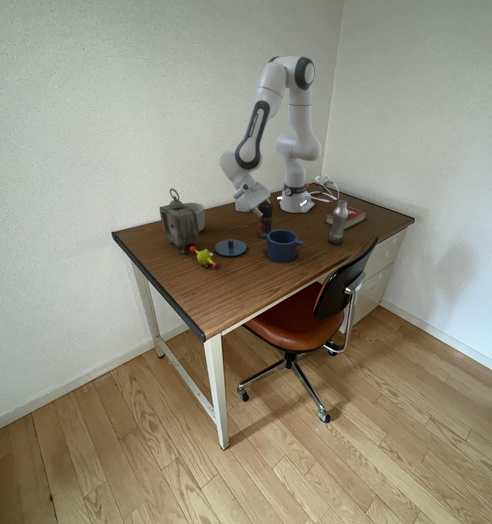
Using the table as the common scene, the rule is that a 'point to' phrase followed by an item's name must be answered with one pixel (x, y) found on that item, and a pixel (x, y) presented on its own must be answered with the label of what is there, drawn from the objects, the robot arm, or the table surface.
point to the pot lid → (230, 247)
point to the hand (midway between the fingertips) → (266, 212)
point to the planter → (198, 214)
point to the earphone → (326, 188)
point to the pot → (281, 245)
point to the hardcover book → (349, 217)
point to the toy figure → (204, 257)
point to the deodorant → (265, 218)
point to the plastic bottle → (338, 222)
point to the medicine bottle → (238, 206)
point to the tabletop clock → (179, 222)
